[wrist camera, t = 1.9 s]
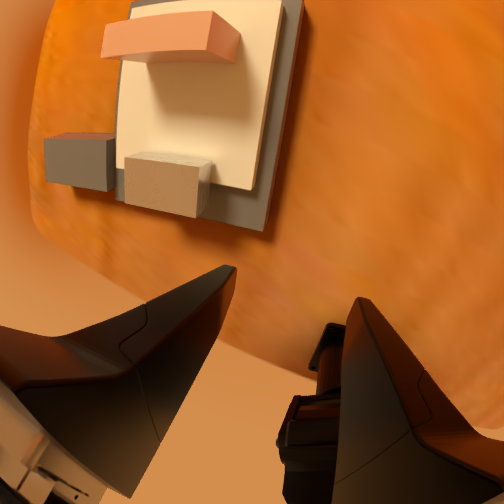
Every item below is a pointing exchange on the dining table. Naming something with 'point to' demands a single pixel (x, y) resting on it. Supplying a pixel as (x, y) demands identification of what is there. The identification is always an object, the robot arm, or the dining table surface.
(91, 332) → the robot arm
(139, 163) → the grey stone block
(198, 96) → the cover
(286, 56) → the case
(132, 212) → the dining table surface
